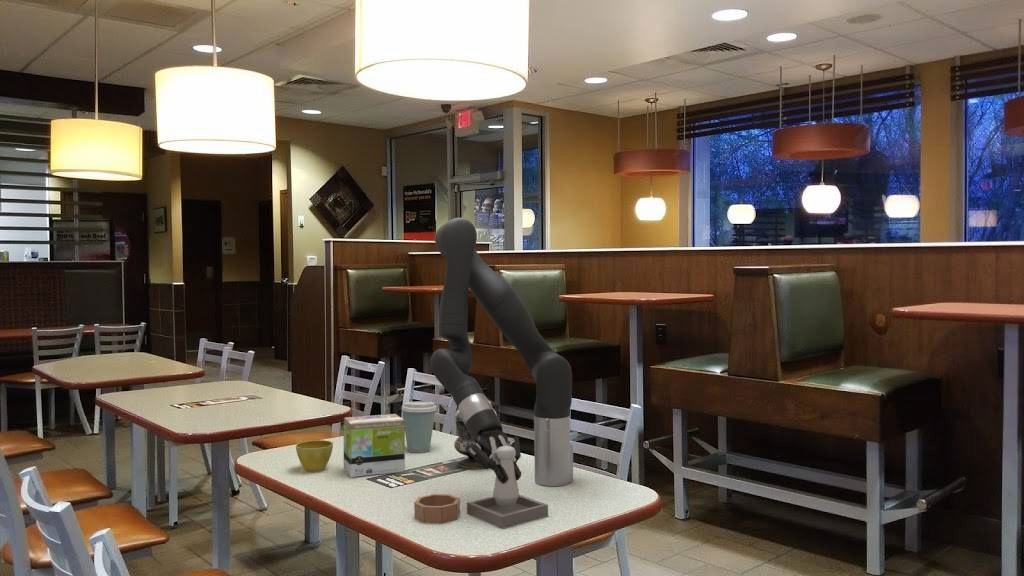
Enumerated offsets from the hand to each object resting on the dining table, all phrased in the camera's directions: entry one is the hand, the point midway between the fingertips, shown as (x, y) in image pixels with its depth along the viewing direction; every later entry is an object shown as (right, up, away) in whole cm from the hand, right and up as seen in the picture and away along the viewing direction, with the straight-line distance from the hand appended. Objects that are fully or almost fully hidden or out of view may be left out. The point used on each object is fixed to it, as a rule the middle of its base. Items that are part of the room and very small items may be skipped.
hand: (511, 479), depth 175 cm
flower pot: (-55, -8, +43) cm, 70 cm away
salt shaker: (-1, -6, +2) cm, 6 cm away
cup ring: (-17, -8, +1) cm, 19 cm away
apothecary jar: (-10, -7, +46) cm, 48 cm away
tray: (-1, -8, +2) cm, 9 cm away
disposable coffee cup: (-28, -7, +64) cm, 70 cm away
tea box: (-38, -8, +41) cm, 56 cm away
